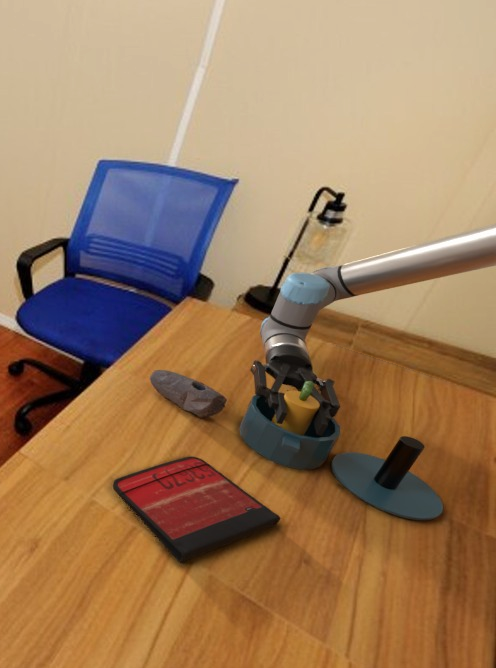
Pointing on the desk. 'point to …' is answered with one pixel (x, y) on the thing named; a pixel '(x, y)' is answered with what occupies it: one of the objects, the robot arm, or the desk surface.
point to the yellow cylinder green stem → (299, 409)
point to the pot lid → (389, 481)
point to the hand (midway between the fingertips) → (301, 423)
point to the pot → (286, 438)
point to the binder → (192, 506)
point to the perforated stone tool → (188, 393)
